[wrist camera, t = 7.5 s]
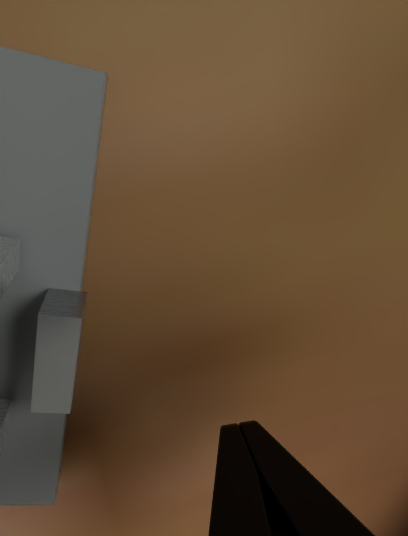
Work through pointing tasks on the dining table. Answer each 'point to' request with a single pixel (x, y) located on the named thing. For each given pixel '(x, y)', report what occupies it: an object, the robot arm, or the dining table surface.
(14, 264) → the grey rectangular block
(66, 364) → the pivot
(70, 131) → the board
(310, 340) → the dining table surface
